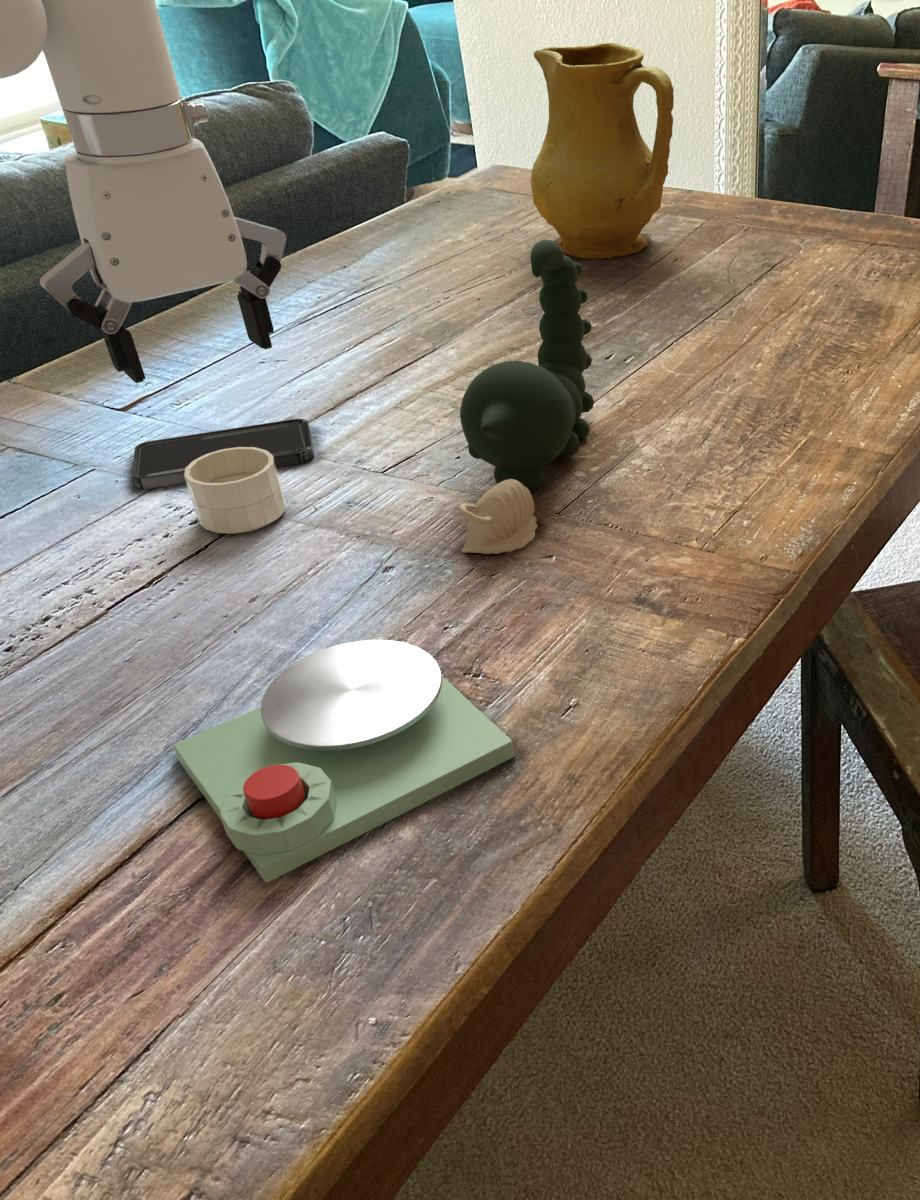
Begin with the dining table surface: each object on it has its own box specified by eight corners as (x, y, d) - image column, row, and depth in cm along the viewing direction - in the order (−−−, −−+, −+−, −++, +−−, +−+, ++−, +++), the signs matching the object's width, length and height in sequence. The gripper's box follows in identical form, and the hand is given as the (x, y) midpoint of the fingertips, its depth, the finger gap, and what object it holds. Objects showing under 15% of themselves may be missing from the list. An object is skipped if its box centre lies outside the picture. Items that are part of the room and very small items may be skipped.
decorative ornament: (553, 527, 100) (546, 470, 97) (484, 574, 94) (474, 514, 91) (515, 515, 102) (507, 459, 99) (446, 560, 96) (435, 501, 93)
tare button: (262, 827, 67) (255, 807, 66) (241, 800, 69) (234, 780, 68) (313, 803, 69) (307, 782, 68) (292, 776, 71) (286, 756, 70)
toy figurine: (531, 417, 122) (441, 519, 100) (512, 226, 113) (408, 292, 91) (622, 422, 121) (551, 526, 99) (610, 229, 112) (529, 297, 90)
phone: (312, 450, 109) (130, 479, 104) (315, 462, 110) (134, 491, 105) (307, 416, 115) (135, 442, 110) (309, 427, 116) (139, 453, 111)
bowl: (219, 547, 97) (202, 493, 94) (189, 516, 101) (172, 463, 99) (300, 519, 101) (286, 466, 98) (268, 490, 105) (254, 439, 102)
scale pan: (306, 776, 70) (304, 771, 70) (234, 690, 77) (233, 685, 77) (473, 698, 76) (472, 693, 76) (394, 624, 83) (392, 620, 83)
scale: (258, 889, 67) (244, 850, 65) (171, 764, 75) (157, 727, 74) (515, 757, 76) (509, 721, 74) (411, 660, 85) (404, 625, 83)
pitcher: (616, 215, 174) (601, 28, 159) (696, 252, 163) (689, 55, 148) (513, 243, 164) (488, 47, 149) (591, 284, 154) (572, 78, 138)
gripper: (234, 104, 91) (288, 320, 101) (-21, 141, 81) (65, 376, 91) (274, 120, 86) (326, 345, 96) (8, 161, 77) (96, 406, 86)
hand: (199, 360), depth 93 cm, fingers open, 9 cm apart
